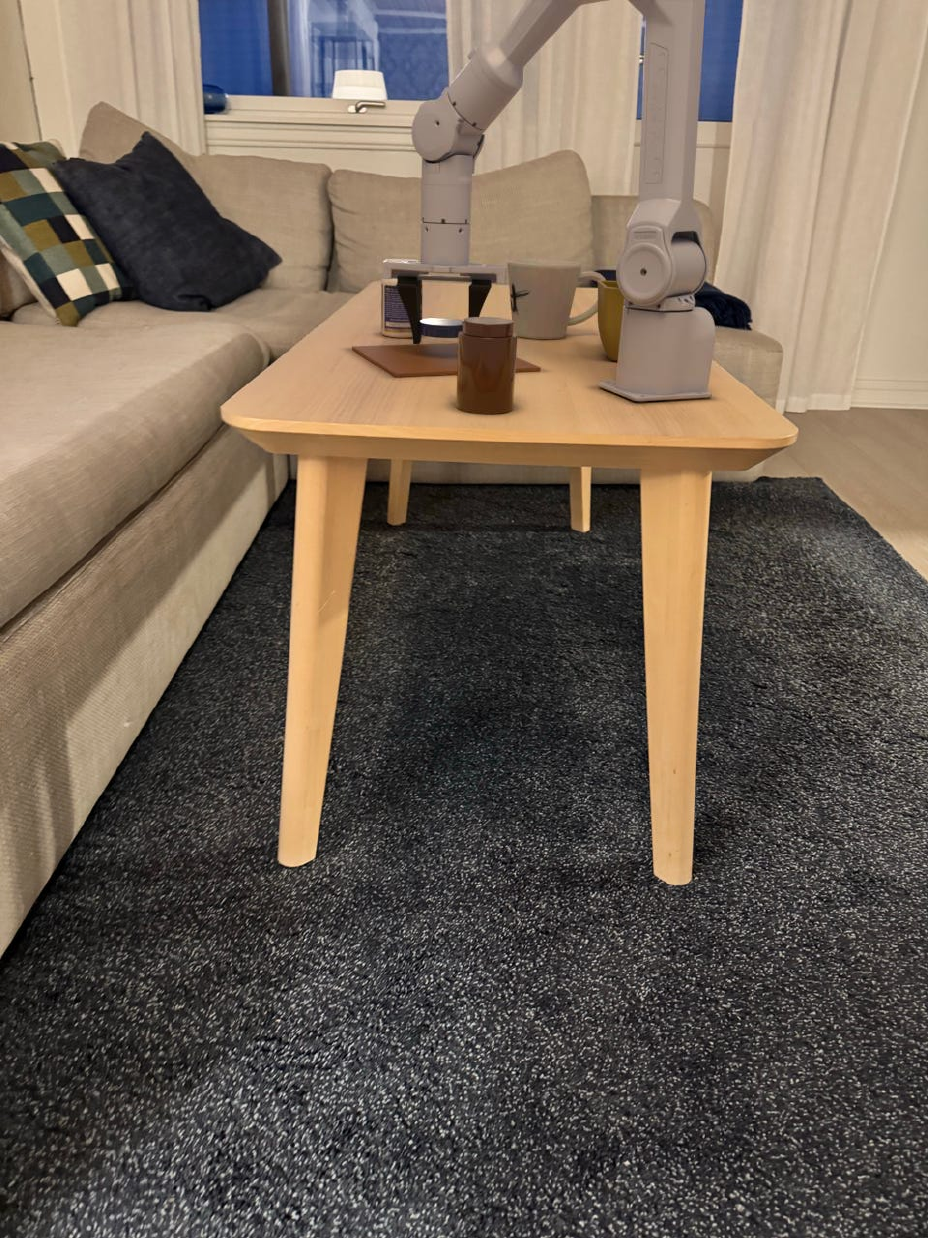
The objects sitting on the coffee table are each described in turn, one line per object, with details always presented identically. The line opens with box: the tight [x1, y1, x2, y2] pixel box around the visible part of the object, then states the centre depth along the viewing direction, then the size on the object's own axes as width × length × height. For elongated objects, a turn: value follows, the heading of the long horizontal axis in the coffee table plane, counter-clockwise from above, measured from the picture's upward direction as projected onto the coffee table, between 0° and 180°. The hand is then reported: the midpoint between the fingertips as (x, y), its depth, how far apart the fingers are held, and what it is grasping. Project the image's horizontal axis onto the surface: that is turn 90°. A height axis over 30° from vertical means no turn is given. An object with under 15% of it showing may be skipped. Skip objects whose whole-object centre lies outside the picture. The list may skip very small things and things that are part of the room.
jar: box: [455, 316, 518, 415], centre depth 87 cm, size 6×6×8 cm
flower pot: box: [597, 280, 625, 362], centre depth 115 cm, size 9×9×9 cm
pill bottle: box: [380, 258, 424, 339], centre depth 125 cm, size 6×6×10 cm
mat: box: [351, 342, 542, 378], centre depth 111 cm, size 18×18×1 cm
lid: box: [419, 317, 463, 339], centre depth 110 cm, size 6×6×2 cm
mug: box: [506, 258, 607, 340], centre depth 130 cm, size 10×15×10 cm
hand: (442, 344), depth 111 cm, fingers closed on lid, 6 cm apart
